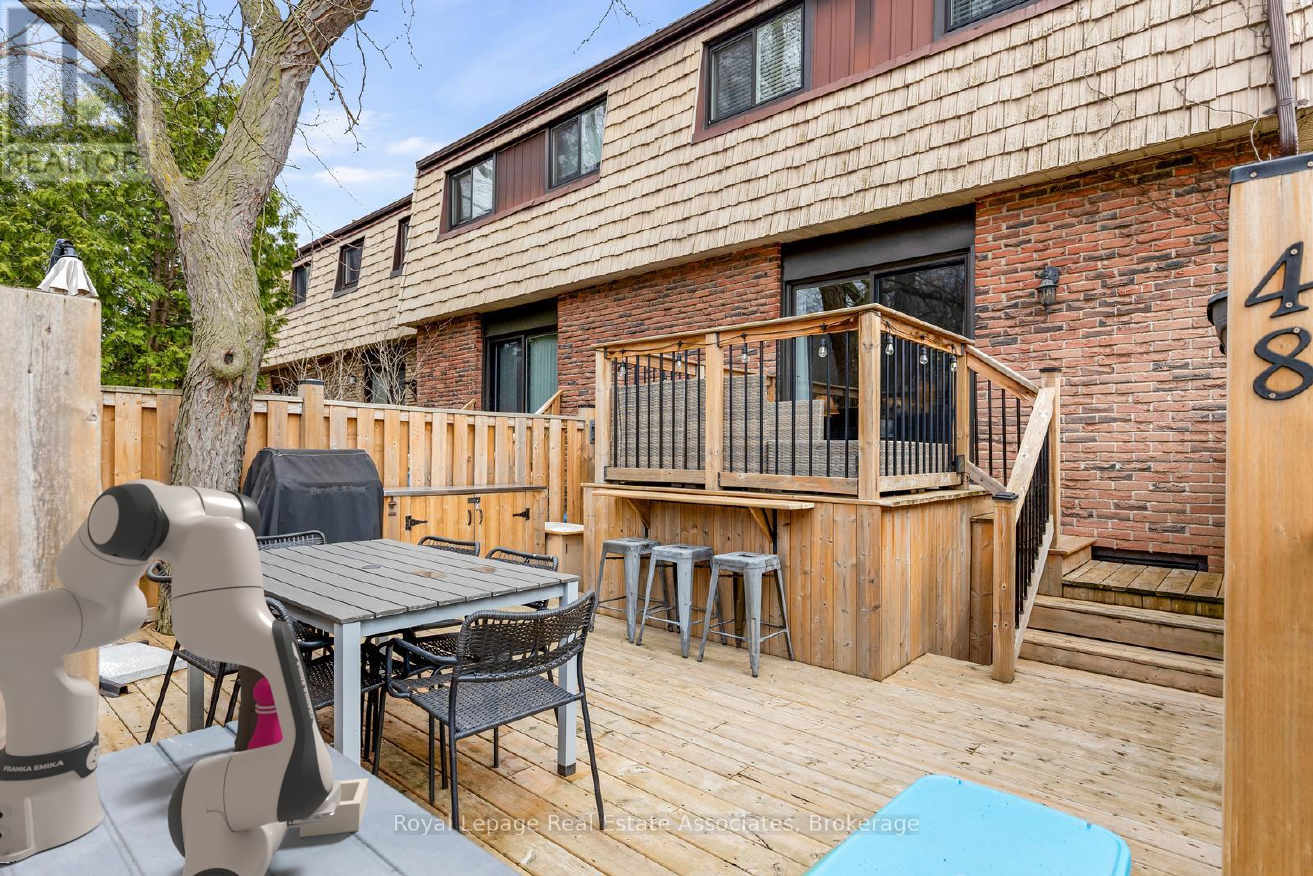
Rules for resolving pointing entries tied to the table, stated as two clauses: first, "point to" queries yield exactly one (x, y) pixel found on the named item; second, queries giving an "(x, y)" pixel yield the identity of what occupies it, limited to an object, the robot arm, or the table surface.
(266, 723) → the pepper mill
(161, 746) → the table surface
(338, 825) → the socket block
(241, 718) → the beer stein
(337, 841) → the table surface
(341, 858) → the table surface
